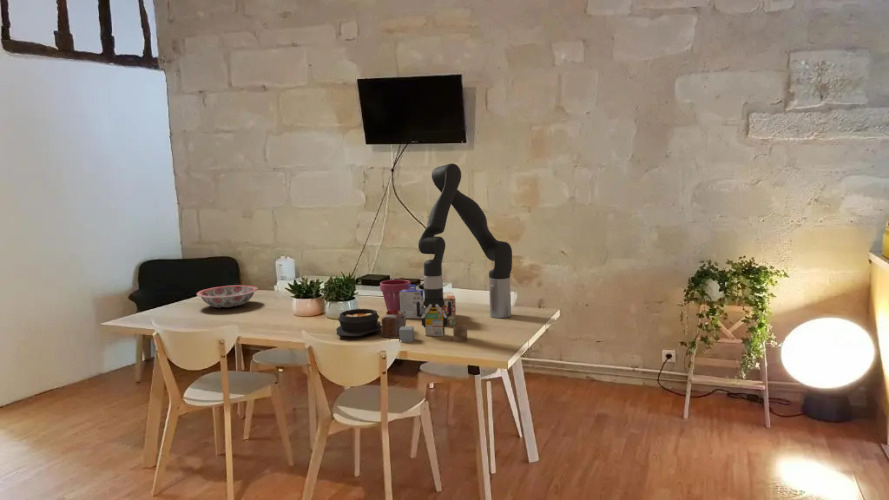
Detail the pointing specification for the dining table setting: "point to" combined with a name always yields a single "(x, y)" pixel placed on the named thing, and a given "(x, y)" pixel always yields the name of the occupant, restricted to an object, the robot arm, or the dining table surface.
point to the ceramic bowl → (227, 295)
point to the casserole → (358, 322)
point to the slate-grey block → (406, 333)
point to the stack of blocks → (452, 318)
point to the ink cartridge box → (411, 301)
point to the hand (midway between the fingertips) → (434, 326)
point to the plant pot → (393, 292)
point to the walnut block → (460, 333)
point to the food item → (392, 323)
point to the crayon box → (434, 323)
